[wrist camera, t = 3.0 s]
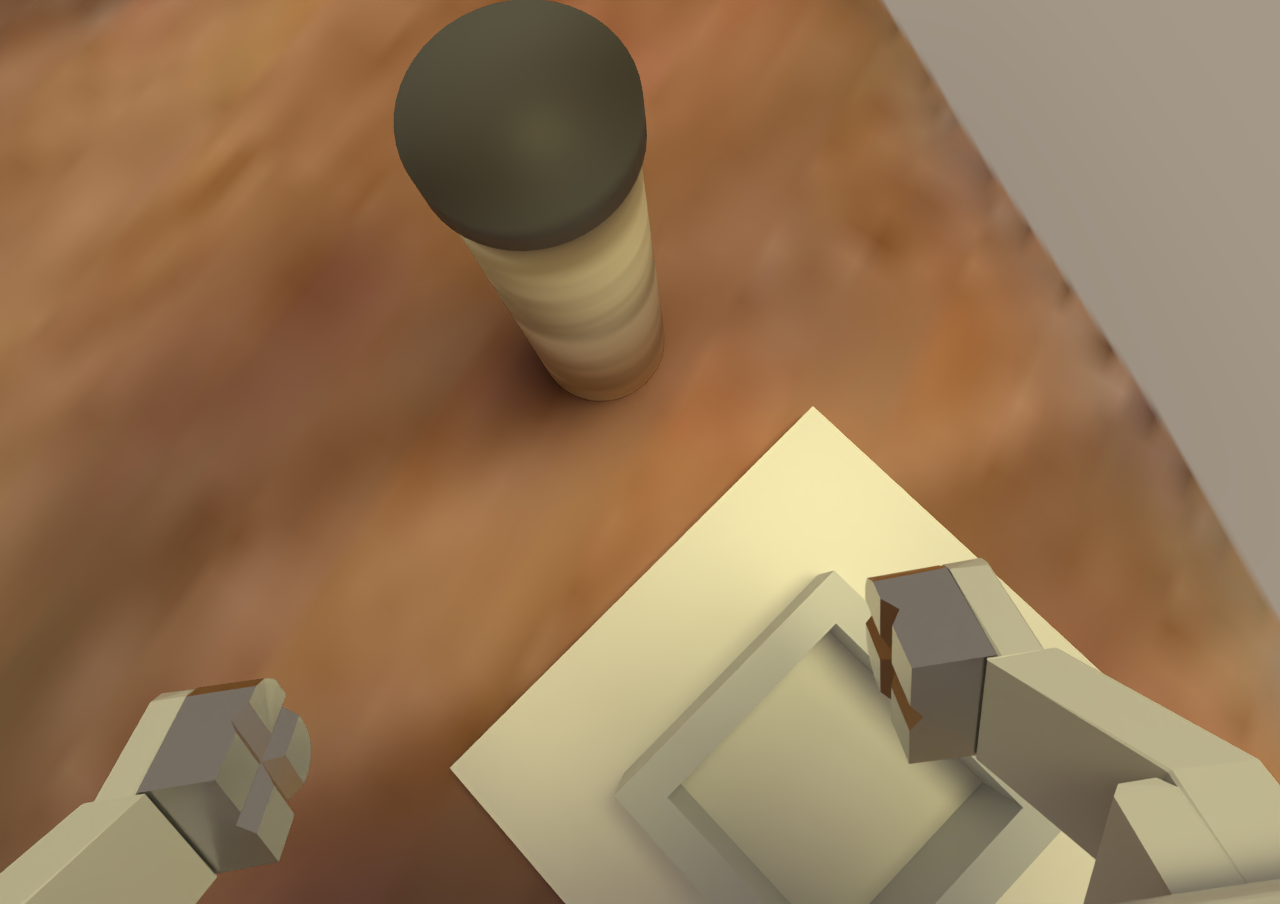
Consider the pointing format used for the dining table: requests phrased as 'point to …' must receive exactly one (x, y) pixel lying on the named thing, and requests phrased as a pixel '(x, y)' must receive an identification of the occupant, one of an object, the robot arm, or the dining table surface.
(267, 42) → the dining table surface
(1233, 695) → the dining table surface
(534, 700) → the holder
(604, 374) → the peg
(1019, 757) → the robot arm
